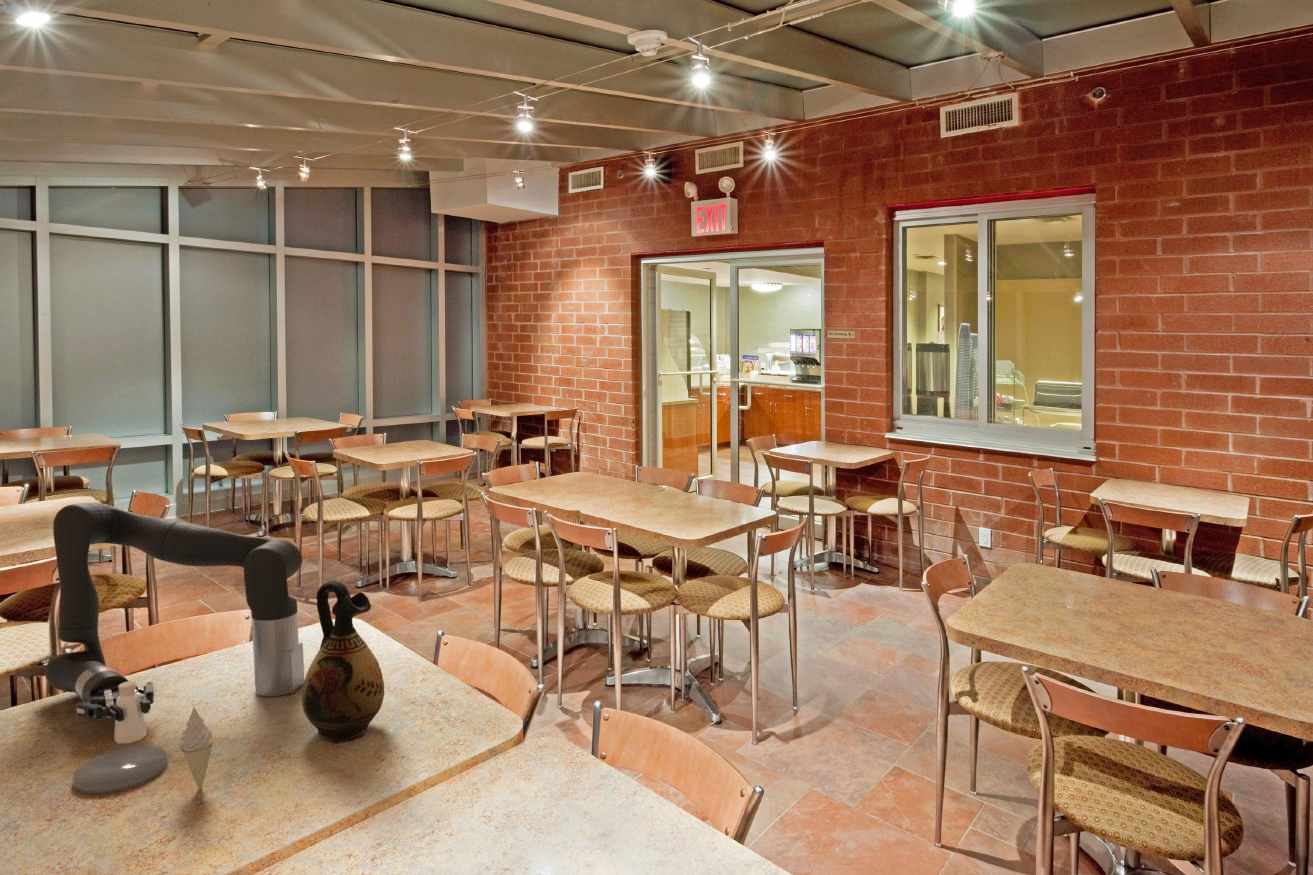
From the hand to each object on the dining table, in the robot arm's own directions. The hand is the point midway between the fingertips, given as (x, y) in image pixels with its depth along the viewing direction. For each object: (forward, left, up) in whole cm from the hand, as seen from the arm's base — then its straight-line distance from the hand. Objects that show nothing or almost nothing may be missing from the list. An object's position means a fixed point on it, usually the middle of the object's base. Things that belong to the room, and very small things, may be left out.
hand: (134, 711), depth 155 cm
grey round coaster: (-5, +11, -6) cm, 14 cm away
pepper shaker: (+2, -2, -6) cm, 7 cm away
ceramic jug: (-38, -6, -6) cm, 39 cm away
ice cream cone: (-22, +16, -6) cm, 28 cm away
